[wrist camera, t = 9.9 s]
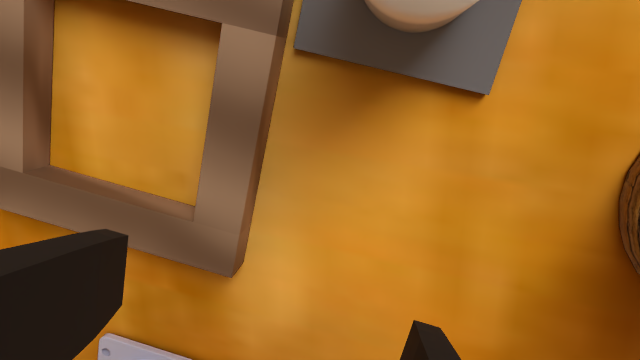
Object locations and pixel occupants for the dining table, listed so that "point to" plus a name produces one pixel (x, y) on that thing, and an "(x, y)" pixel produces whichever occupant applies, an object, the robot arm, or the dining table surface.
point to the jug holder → (126, 203)
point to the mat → (412, 41)
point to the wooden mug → (631, 215)
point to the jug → (417, 13)
